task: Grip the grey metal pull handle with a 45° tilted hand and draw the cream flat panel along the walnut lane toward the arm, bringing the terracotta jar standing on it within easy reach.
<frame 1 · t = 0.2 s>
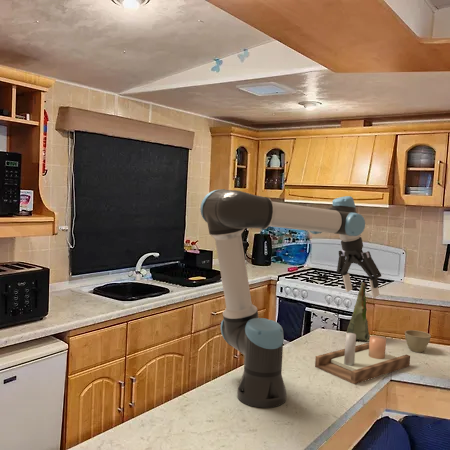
hand: (362, 293, 177), 27 cm above the counter, tool tilted 15°, fingers open, 13 cm apart
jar: (376, 356, 181), point 2 cm above the counter, touching cream flat panel
lane: (362, 366, 177), on the counter
cream flat panel: (367, 346, 178), point 7 cm above the counter, slide at 0.0 cm, touching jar
flower pot: (416, 350, 198), on the counter
olive tapered piece: (358, 339, 210), on the counter
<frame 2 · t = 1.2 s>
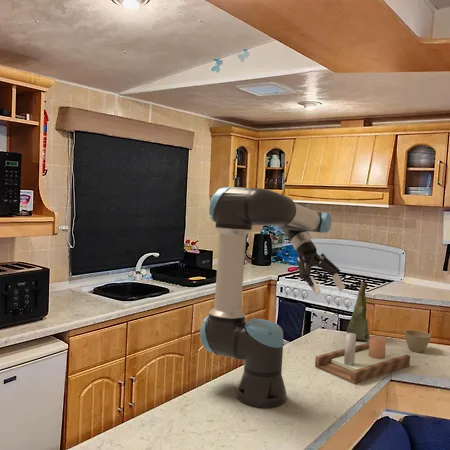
hand: (330, 291, 179), 27 cm above the counter, tool tilted 45°, fingers open, 13 cm apart
nothing on the counter moved.
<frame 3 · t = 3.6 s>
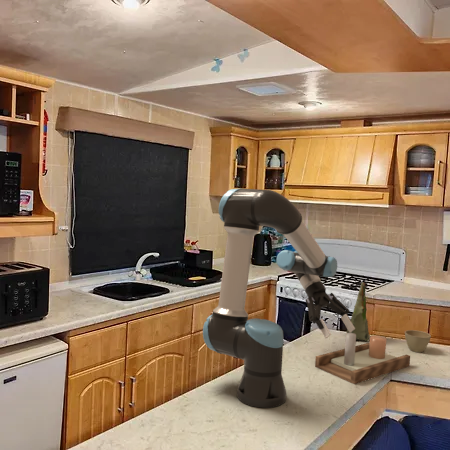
hand: (340, 333, 177), 12 cm above the counter, tool tilted 45°, fingers open, 13 cm apart
nothing on the counter moved.
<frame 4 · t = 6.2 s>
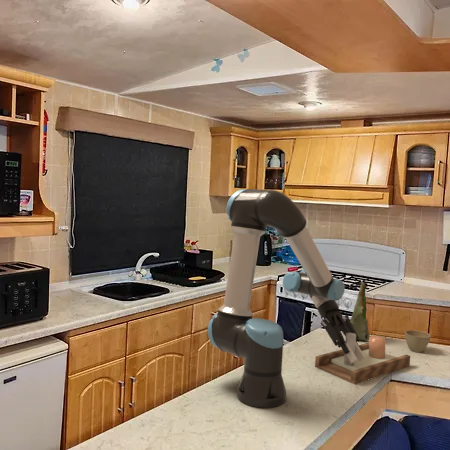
hand: (358, 360, 169), 5 cm above the counter, tool tilted 45°, fingers closed on cream flat panel, 4 cm apart
cream flat panel: (367, 346, 178), point 7 cm above the counter, slide at 0.0 cm, touching gripper, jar
everything else where it was.
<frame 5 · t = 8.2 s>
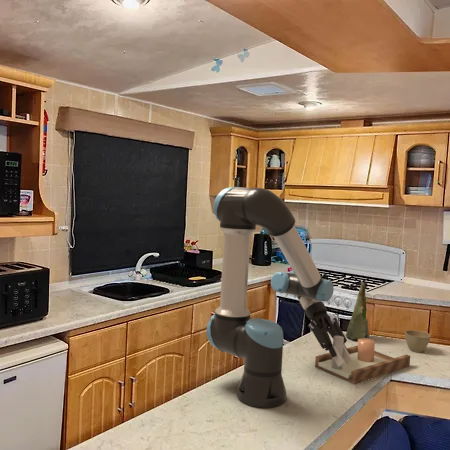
hand: (345, 363, 165), 5 cm above the counter, tool tilted 45°, fingers closed on cream flat panel, 4 cm apart
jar: (365, 359, 178), point 3 cm above the counter, touching cream flat panel
cream flat panel: (356, 349, 174), point 7 cm above the counter, slide at 6.7 cm, touching gripper, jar
everything else where it was.
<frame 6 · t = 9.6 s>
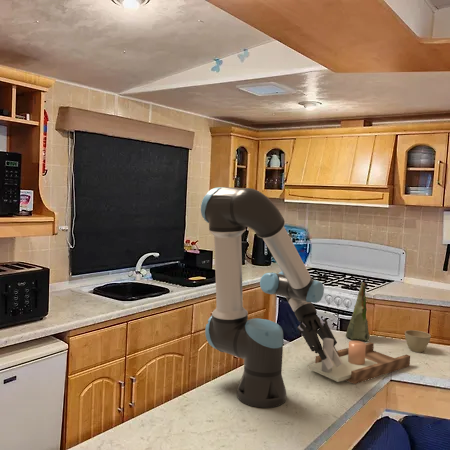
hand: (335, 366, 162), 5 cm above the counter, tool tilted 45°, fingers closed on cream flat panel, 4 cm apart
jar: (356, 361, 174), point 3 cm above the counter, touching cream flat panel
cream flat panel: (346, 351, 171), point 7 cm above the counter, slide at 11.9 cm, touching gripper, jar
everything else where it was.
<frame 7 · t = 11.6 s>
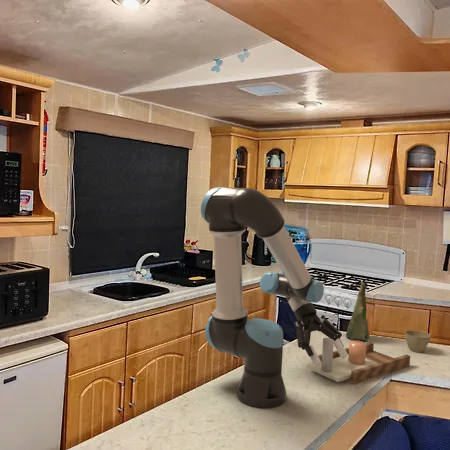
hand: (332, 360, 163), 7 cm above the counter, tool tilted 45°, fingers open, 13 cm apart
cream flat panel: (346, 351, 171), point 7 cm above the counter, slide at 12.0 cm, touching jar
everything else where it was.
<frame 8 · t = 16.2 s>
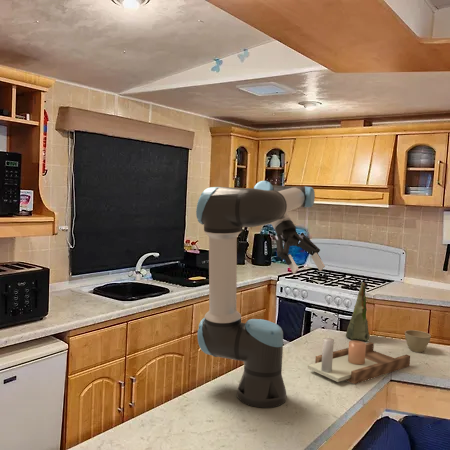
hand: (309, 270, 173), 36 cm above the counter, tool tilted 45°, fingers open, 13 cm apart
nothing on the counter moved.
at the end: cream flat panel slide at 12.0 cm; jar moved 12.0 cm from its start; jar tilted 2° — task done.
